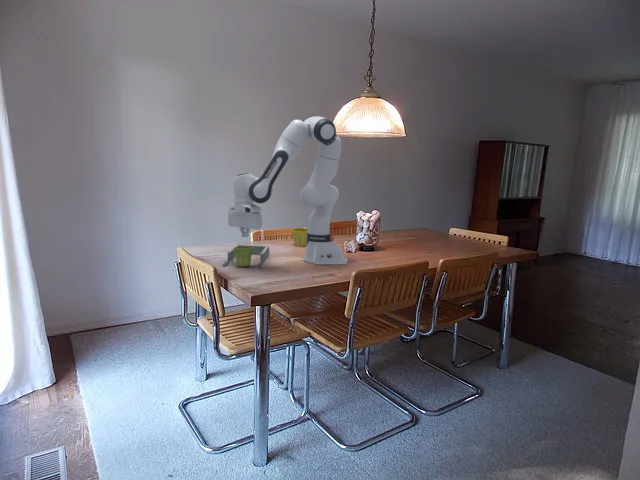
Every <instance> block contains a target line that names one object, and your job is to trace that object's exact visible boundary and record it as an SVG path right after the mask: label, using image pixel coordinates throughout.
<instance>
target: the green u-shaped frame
mask: <svg viewBox="0 0 640 480" xmlns="http://www.w3.org/2000/svg"><path fill="white" fill-rule="evenodd" d="M235 247H253V249H252V254H251V255H260V259H259V260H260V262H259V263H262V265H263V264H264V262H265V261H266V260H267V258H268V257H269V255H270V245H252V244H251V245H249V244H248V245H247V244H240V243H236V244H235V245H234V246H233V247H232V248H231V249H229V250H228V251H227V262H229V263H231V262H232V261H233V260H234V259H236V255H235V252H234V249H233V248H235Z"/></svg>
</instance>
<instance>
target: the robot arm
mask: <svg viewBox="0 0 640 480" xmlns="http://www.w3.org/2000/svg"><path fill="white" fill-rule="evenodd" d="M310 139H311V140H313V141H317V142H318V150H317V156H316V160H315V164H314V169H313V171H312V173H311V175H310V178H309V179H308V181H307V183H306V185H305V186H304V187H303V188H301V190H300V193H299V199H300V202H301V203H302V205H304V206H307V207H310V208H312V212H311V213H310V214H309V216H308V219H307V229H308V233H307V237H306V242H307V243H306V247H305V248H306V249H305V254H304V257H303V261H305V262H307V263H310V264H313V265H319V266H320V265H347V263H348V258H347V257H345V256H344V251H343V249H342V247H340V245H338V244H337V242H335V241H334V239H335V236H334V235H333V234H331V233H330V229H331V228H330V227H331V226H330V225H331V216H332V213H333V209H334V206H335V204H336V202H337V201H338V200H339V198H340V192H339V189H338V188H337V187H336V186H335V185H332V184H331V182H332V180H333V179H334V178H335V177H336V175H337V172H338V167H339V164H340V163H339V162H340V158H341V154H342V153H341V151H342V140H341V139H342V138H340V136H338V135H337V129H336V125H335V123H334V122H333V121H332V120H330V119H328V118H327V117H323V116H317V115H309V116H308V117H306V118H304V119H303V120H301V119H293V120H292V121H291V122H290V123H289V124H288V126H286V127H285V129H284V130H283V132H282V134H281V135H280V137H279V139H278V140H277V142H276V145H275V147H274V151H273V154H272V157H271V159H270V161H269V164H268V165H267V166H266V168H265V169H264V171H263V173H262V174H261V176H260V177H257V176H255V175H253V174H251V173H250V172H246V173H241V174H240V173H239V174H237V175H236V176H234V178H233V194H234V200H233V203H234V206H232V207H230V208H229V209H228V214H227V215H228V216H227V225H228V226H229V227H234V228H239V231H240V233H241V237H243V238H249V235H250V232H251V229H252V230H253V229H254V230H255V229H256V230H259V229H262V227H263V214H262V213H261V212H262V207H260V206H259V205H257V204H264V203H266V202H267V201H269V199H270V198H271V197H272V195H273V191H274V190H273V186H274V183H276V180H277V178H278V177H279V175H280V173H281V172H282V170H283V169H284V168H285V167H286V166H287V165H289V164H290V163H292V161H294V159H296V157H297V156H298V154H299V153H300V152H301V150H302V148H303V146H304V144H305V143H306V142H307V141H309V140H310ZM255 203H257V204H255Z"/></svg>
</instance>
